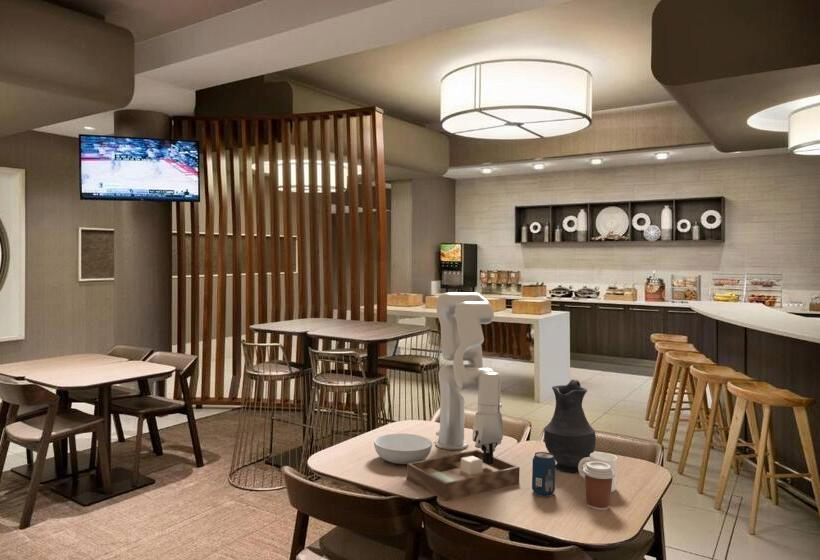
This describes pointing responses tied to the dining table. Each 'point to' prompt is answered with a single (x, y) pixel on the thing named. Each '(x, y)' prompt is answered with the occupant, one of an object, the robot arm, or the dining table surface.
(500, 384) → the robot arm
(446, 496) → the trap box
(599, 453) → the mug
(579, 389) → the pitcher
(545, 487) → the soda can
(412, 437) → the serving bowl
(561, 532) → the dining table surface
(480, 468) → the block
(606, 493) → the coffee cup
